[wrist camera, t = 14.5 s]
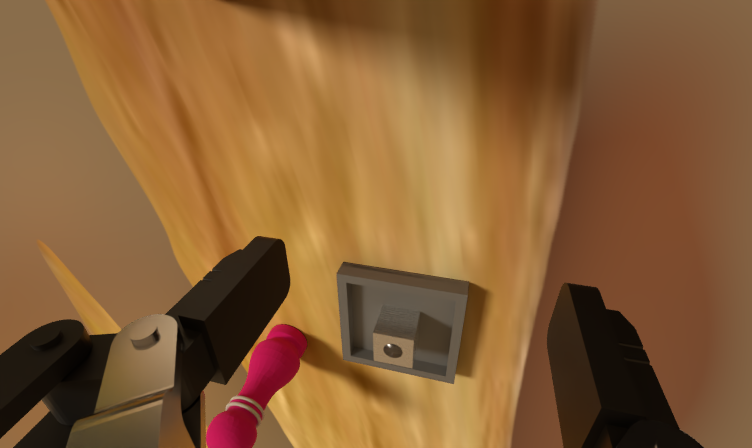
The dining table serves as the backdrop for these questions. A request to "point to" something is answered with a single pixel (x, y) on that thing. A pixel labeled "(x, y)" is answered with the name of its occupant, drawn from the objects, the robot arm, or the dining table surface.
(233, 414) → the pepper mill
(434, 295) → the tray
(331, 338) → the dining table surface
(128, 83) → the dining table surface
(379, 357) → the grey dotted cube
